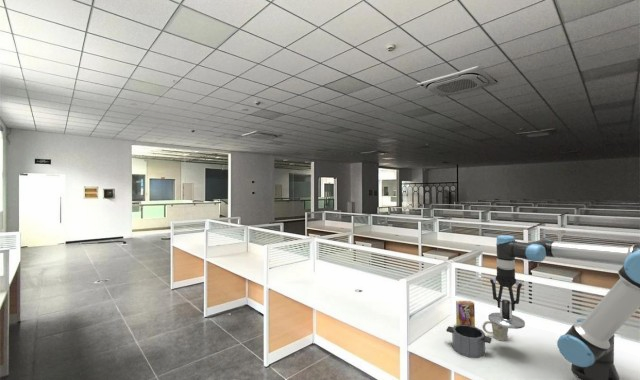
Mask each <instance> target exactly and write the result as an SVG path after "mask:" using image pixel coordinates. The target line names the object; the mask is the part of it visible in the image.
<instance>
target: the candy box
mask: <svg viewBox="0 0 640 380" xmlns="http://www.w3.org/2000/svg"><path fill="white" fill-rule="evenodd" d="M475 310H476V309H475V303H474V301H472V300H455V313H456V315H455V316H456V317H455V318H456V319H455V320H456V325H470V326H474V327H476V323H475V322H476V318H475V317H476V315H475V313H476V312H475ZM456 325H455V326H456Z"/></svg>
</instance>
